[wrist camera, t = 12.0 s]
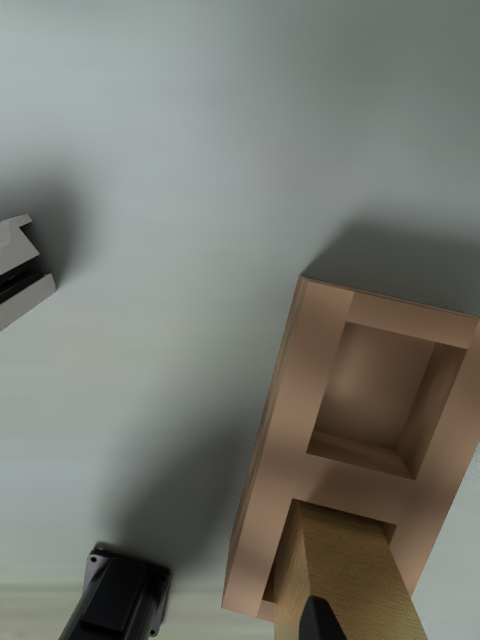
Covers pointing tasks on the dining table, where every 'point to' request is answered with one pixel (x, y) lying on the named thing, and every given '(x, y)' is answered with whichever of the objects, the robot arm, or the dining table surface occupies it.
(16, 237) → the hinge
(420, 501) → the recessed tan tray
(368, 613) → the tan block
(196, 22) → the dining table surface
